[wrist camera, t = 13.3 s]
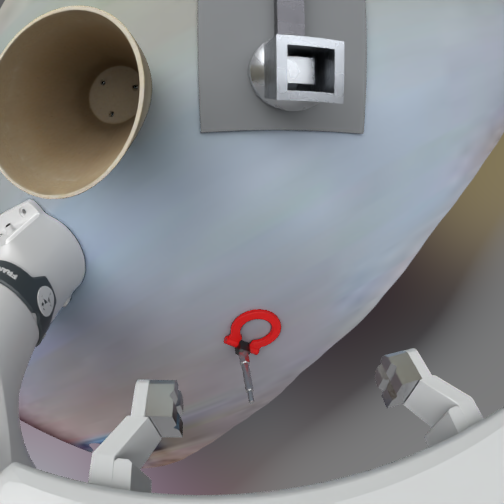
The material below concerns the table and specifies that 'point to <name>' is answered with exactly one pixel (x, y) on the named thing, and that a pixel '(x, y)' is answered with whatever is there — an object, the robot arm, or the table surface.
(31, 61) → the plant pot
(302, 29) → the ratchet
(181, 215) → the table surface
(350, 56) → the mat
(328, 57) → the hollow square tube
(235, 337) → the tow hook
